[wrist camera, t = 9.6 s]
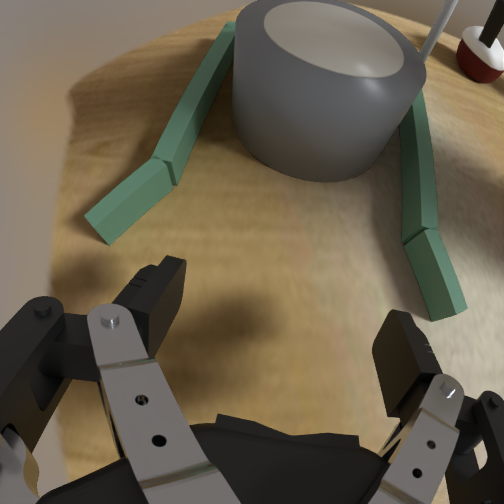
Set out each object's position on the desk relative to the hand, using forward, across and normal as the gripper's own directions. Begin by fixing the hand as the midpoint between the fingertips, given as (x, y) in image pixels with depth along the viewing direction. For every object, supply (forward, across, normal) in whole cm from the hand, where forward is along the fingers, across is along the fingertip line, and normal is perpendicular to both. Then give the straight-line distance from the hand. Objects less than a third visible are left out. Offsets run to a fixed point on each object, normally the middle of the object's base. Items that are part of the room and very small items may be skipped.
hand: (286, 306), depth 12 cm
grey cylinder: (+14, 0, -7) cm, 15 cm away
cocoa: (+26, -18, -19) cm, 38 cm away
